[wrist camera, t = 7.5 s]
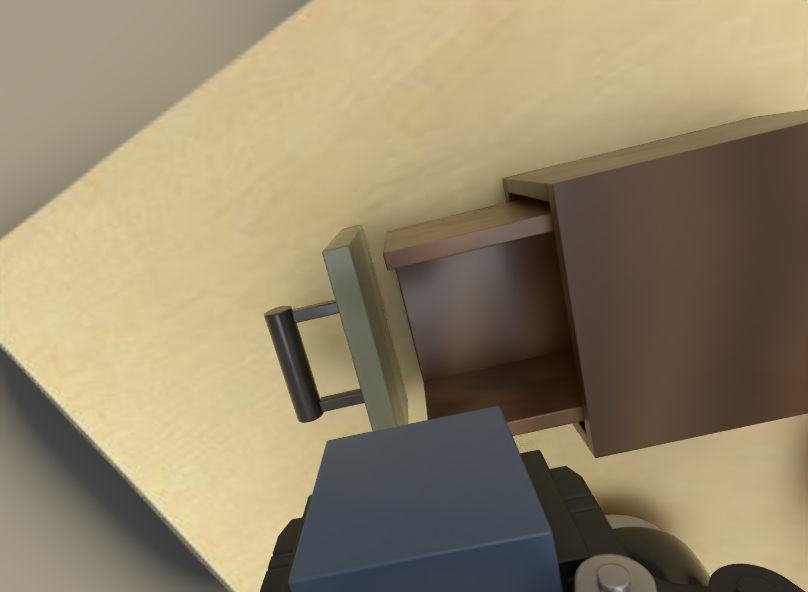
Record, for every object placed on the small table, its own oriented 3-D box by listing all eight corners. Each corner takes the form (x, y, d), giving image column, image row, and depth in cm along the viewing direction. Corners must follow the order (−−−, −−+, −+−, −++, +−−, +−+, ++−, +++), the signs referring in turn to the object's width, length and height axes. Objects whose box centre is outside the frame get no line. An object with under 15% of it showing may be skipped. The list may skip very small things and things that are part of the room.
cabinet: (538, 373, 32) (595, 458, 22) (502, 178, 29) (551, 183, 19) (766, 322, 31) (922, 389, 22) (755, 116, 28) (932, 91, 19)
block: (326, 439, 12) (286, 581, 8) (499, 404, 12) (553, 531, 8) (367, 581, 13) (352, 773, 9) (527, 551, 13) (588, 734, 9)
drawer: (325, 418, 31) (302, 497, 24) (272, 245, 29) (226, 274, 21) (600, 357, 31) (666, 419, 23) (574, 173, 28) (639, 175, 20)
